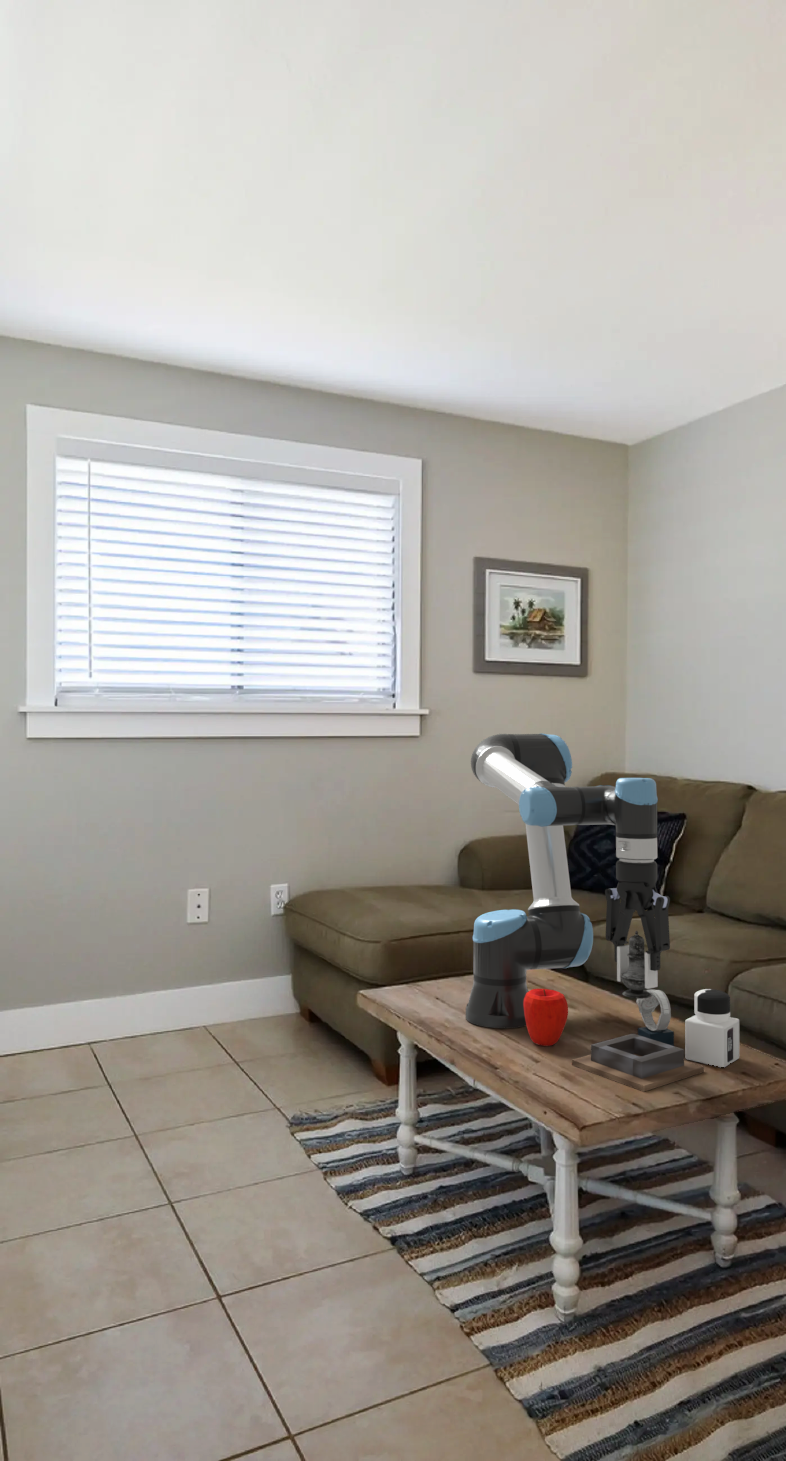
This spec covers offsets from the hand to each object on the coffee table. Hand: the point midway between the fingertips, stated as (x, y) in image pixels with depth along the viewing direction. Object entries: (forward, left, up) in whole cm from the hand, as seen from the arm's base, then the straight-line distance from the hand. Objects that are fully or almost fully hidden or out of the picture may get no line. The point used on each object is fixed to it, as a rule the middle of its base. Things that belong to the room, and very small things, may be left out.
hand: (637, 983), depth 178 cm
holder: (0, 0, -16) cm, 16 cm away
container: (+5, +16, -16) cm, 23 cm away
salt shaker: (0, 0, -2) cm, 2 cm away
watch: (-7, +14, -16) cm, 23 cm away
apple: (-21, -3, -16) cm, 27 cm away
